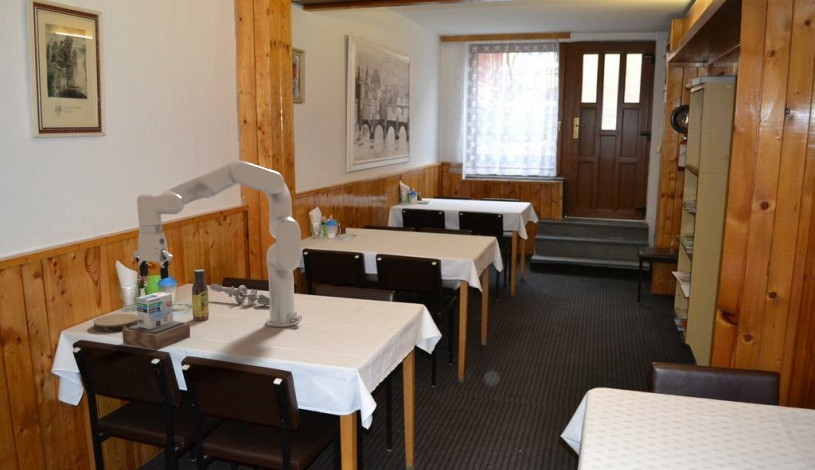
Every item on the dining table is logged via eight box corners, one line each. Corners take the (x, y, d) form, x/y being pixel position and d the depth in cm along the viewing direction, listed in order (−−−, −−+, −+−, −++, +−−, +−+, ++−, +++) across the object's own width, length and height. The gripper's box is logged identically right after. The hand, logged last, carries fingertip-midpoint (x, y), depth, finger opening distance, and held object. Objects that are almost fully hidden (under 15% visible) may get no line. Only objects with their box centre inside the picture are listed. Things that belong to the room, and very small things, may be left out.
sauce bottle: (204, 322, 262) (202, 272, 259) (189, 321, 263) (187, 271, 260) (212, 317, 268) (210, 269, 265) (198, 316, 270) (195, 268, 266)
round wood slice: (140, 319, 267) (139, 312, 266) (137, 330, 252) (137, 323, 251) (96, 322, 262) (96, 315, 261) (91, 334, 247) (90, 326, 246)
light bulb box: (149, 330, 233) (148, 300, 231) (137, 327, 236) (135, 297, 235) (174, 322, 242) (172, 293, 241) (161, 319, 246) (159, 291, 244)
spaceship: (217, 278, 301) (206, 275, 294) (281, 295, 287) (271, 292, 280) (212, 296, 300) (201, 293, 293) (276, 313, 286) (266, 310, 279)
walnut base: (190, 336, 244) (189, 321, 243) (156, 349, 230) (155, 334, 229) (157, 330, 251) (156, 316, 250) (123, 343, 236) (122, 328, 235)
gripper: (177, 229, 233) (180, 277, 236) (140, 226, 241) (144, 272, 244) (161, 232, 227) (164, 281, 230) (124, 229, 234) (128, 277, 237)
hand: (154, 277), depth 237 cm, fingers open, 9 cm apart
